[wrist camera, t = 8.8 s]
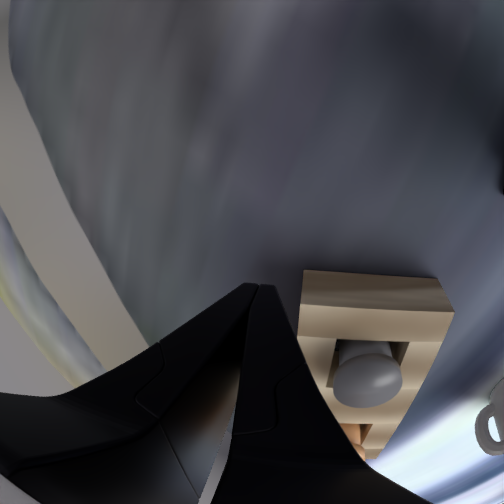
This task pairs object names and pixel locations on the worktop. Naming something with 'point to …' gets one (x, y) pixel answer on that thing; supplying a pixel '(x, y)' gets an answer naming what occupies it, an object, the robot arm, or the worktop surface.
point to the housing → (372, 337)
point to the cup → (500, 408)
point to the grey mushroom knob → (366, 373)
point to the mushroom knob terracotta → (354, 437)
